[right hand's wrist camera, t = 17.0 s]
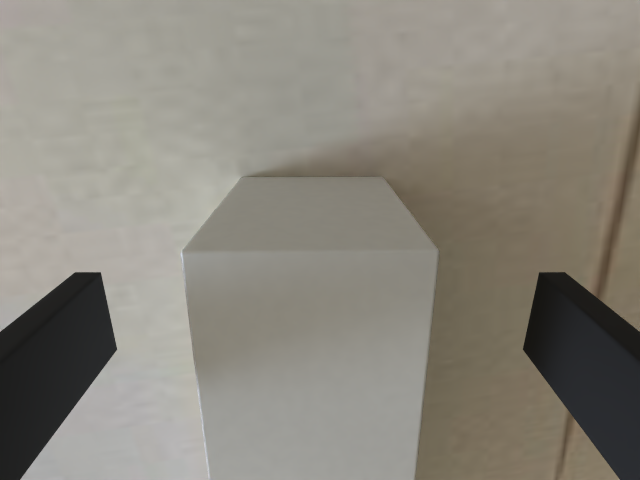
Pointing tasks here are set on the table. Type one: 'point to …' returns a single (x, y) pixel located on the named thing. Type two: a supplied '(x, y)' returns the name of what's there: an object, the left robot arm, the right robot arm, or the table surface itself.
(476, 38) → the table surface
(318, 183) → the bar
